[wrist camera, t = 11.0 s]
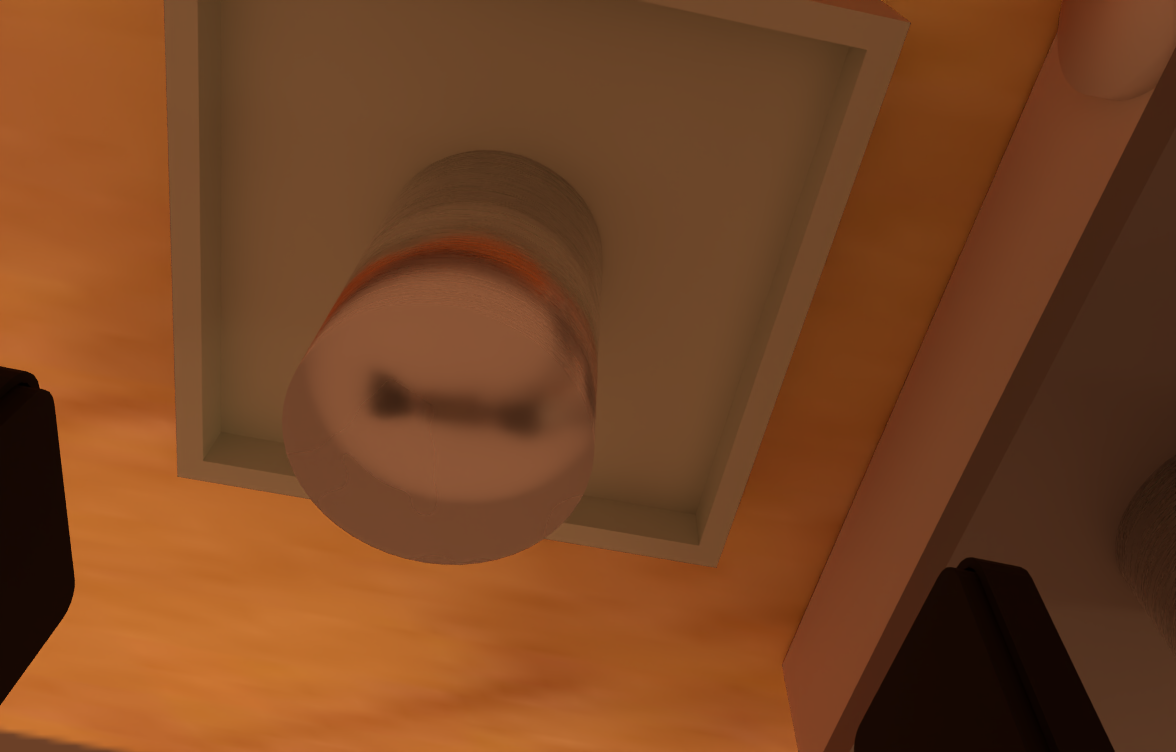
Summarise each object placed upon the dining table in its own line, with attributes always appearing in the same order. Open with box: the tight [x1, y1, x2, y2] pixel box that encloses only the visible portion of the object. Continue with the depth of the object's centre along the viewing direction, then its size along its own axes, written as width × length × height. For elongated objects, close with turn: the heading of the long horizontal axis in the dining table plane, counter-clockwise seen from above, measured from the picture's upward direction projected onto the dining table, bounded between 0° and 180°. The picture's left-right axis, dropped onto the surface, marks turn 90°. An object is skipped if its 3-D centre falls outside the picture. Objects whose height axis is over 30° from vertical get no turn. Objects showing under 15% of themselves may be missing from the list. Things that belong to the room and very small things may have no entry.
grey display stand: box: [782, 0, 1176, 752], centre depth 17 cm, size 22×8×5 cm, turn 169°
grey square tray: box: [164, 0, 911, 568], centre depth 17 cm, size 11×11×2 cm
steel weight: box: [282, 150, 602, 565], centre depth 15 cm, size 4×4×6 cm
